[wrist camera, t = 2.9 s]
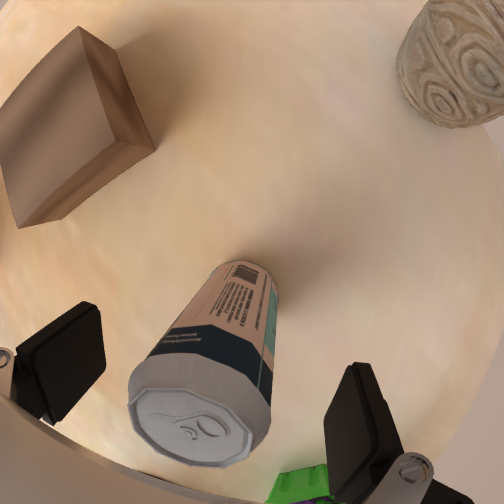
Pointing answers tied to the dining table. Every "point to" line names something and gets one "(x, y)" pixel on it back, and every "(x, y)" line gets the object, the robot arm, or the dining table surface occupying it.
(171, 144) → the dining table surface
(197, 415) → the beer can
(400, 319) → the dining table surface
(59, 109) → the walnut block
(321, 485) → the fruit basket
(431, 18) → the carving
